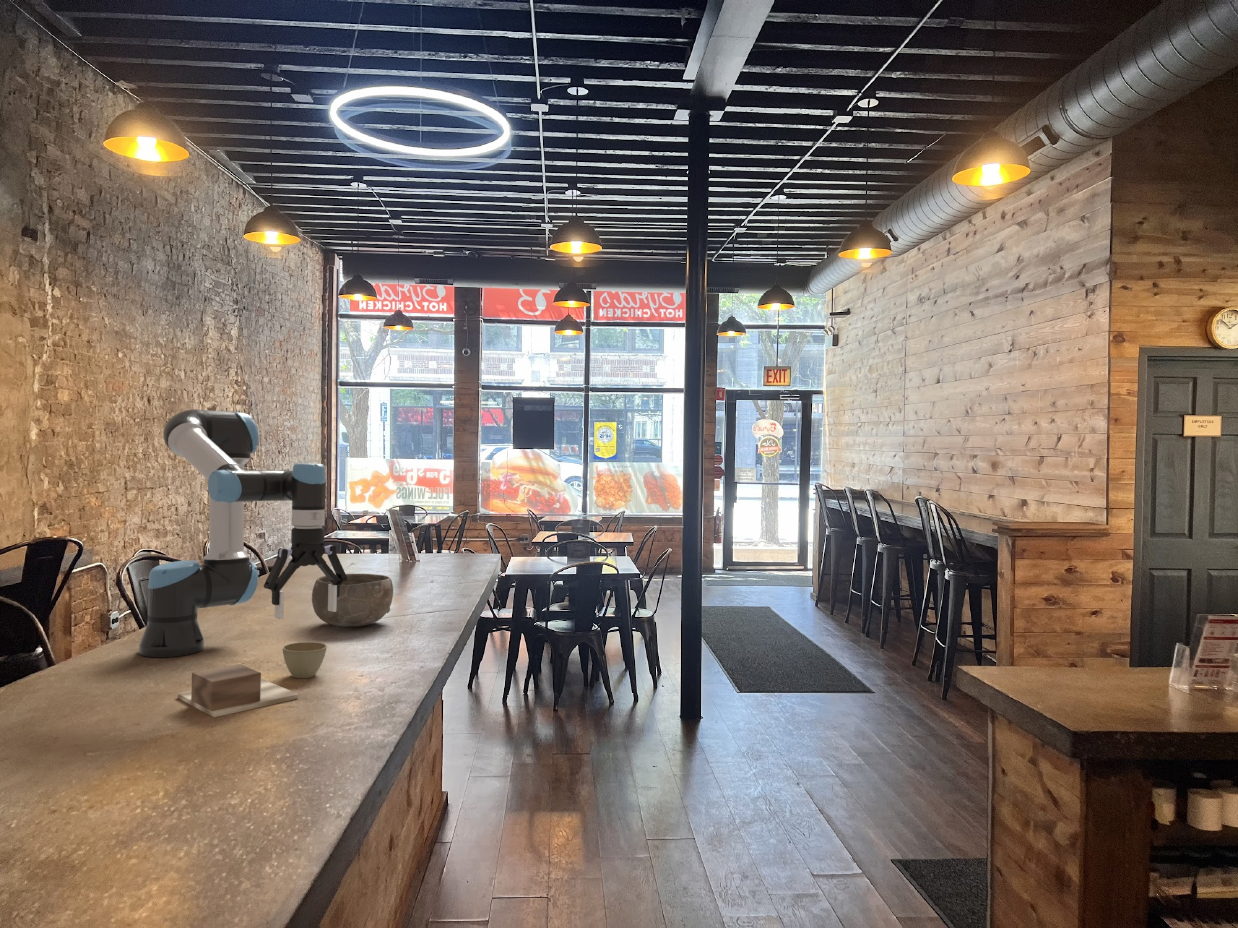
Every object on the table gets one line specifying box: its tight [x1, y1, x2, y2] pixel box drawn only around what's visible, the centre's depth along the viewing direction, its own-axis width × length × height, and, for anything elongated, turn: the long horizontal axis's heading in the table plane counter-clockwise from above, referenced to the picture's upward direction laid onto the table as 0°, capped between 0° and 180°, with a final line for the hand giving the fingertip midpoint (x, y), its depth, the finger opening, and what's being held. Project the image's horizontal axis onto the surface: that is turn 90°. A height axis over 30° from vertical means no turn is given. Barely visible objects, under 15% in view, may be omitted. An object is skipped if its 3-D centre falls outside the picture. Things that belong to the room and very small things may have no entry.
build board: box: [177, 677, 299, 718], centre depth 176 cm, size 18×18×1 cm
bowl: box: [311, 573, 394, 628], centre depth 251 cm, size 24×24×15 cm
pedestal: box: [191, 663, 262, 711], centre depth 170 cm, size 10×10×6 cm
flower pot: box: [282, 641, 328, 679], centre depth 194 cm, size 10×10×7 cm
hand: (306, 614), depth 194 cm, fingers open, 13 cm apart
